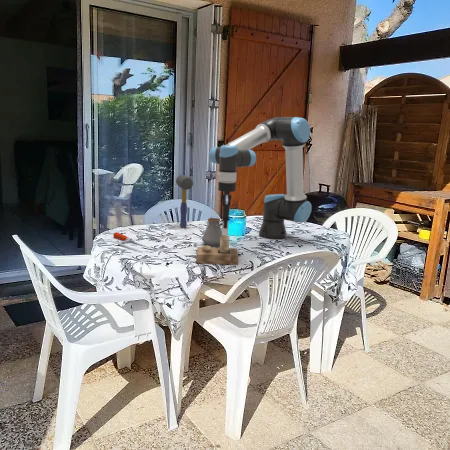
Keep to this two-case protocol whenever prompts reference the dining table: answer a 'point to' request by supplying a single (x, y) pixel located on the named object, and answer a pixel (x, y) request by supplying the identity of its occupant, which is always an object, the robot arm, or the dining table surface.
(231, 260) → the wooden block with hole
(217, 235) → the coffee pot
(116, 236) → the hand saw
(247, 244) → the dining table surface
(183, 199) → the rubber mallet
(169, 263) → the dining table surface
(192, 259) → the dining table surface
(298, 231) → the dining table surface
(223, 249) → the beech dowel
